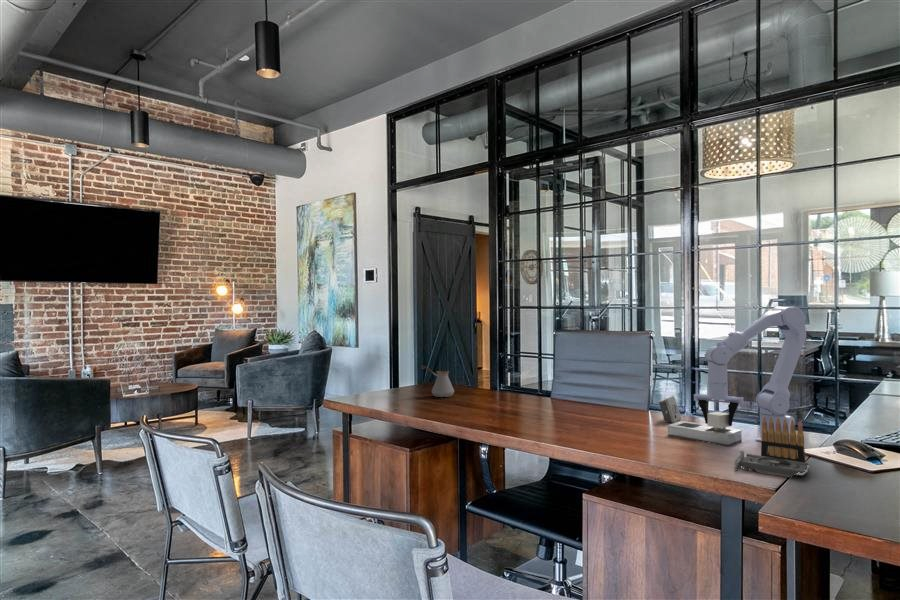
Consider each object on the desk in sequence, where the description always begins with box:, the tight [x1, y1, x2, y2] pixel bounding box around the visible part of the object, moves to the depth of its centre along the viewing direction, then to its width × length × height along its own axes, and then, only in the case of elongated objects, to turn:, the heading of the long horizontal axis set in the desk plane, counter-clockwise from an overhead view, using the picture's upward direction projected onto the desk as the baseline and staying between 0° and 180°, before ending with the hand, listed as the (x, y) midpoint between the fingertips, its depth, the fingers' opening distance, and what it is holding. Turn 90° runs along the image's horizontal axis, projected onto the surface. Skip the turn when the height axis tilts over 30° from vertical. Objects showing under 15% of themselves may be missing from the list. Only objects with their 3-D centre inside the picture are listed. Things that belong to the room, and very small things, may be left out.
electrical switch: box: [658, 395, 682, 424], centre depth 209 cm, size 9×5×9 cm, turn 141°
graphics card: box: [733, 450, 810, 478], centre depth 144 cm, size 17×4×12 cm
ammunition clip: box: [760, 417, 806, 462], centre depth 154 cm, size 11×2×12 cm, turn 50°
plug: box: [707, 411, 730, 430], centre depth 177 cm, size 4×5×5 cm
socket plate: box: [667, 420, 743, 447], centre depth 181 cm, size 20×10×4 cm, turn 40°
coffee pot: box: [421, 365, 455, 398], centre depth 276 cm, size 21×12×15 cm, turn 43°
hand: (718, 424), depth 177 cm, fingers closed on plug, 6 cm apart
